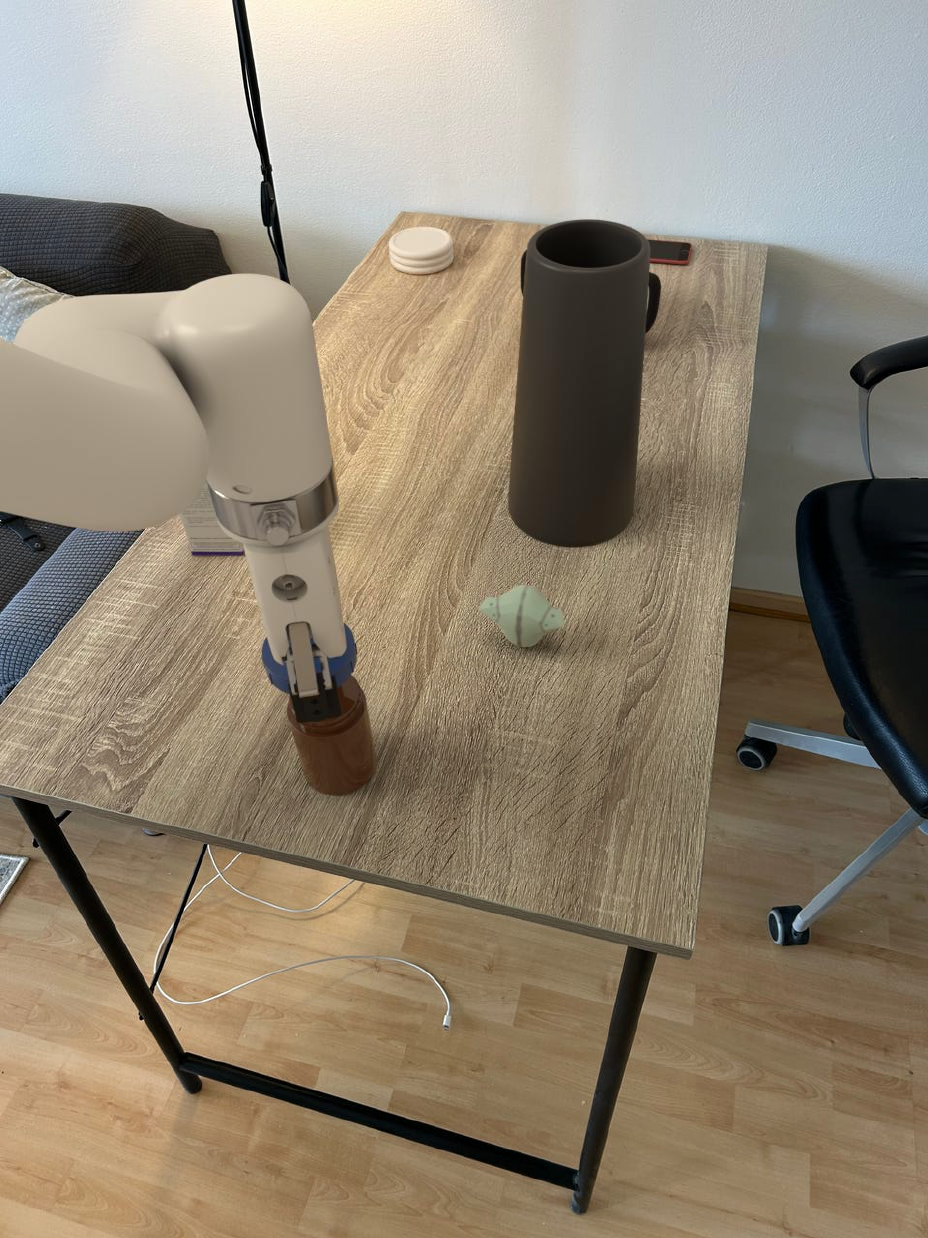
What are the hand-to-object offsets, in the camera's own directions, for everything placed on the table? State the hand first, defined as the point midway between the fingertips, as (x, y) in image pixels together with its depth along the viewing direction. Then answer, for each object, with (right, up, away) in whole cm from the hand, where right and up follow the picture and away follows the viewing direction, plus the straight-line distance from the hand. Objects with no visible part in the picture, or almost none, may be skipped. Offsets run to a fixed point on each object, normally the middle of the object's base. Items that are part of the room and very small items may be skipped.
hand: (314, 677), depth 67 cm
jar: (+1, -8, +9) cm, 12 cm away
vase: (+23, +17, +31) cm, 42 cm away
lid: (0, +2, -2) cm, 3 cm away
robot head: (+17, +2, +18) cm, 24 cm away
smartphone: (+39, +61, +73) cm, 103 cm away
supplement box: (-15, +13, +29) cm, 35 cm away
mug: (+28, +43, +56) cm, 76 cm away
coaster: (+5, +60, +73) cm, 95 cm away
